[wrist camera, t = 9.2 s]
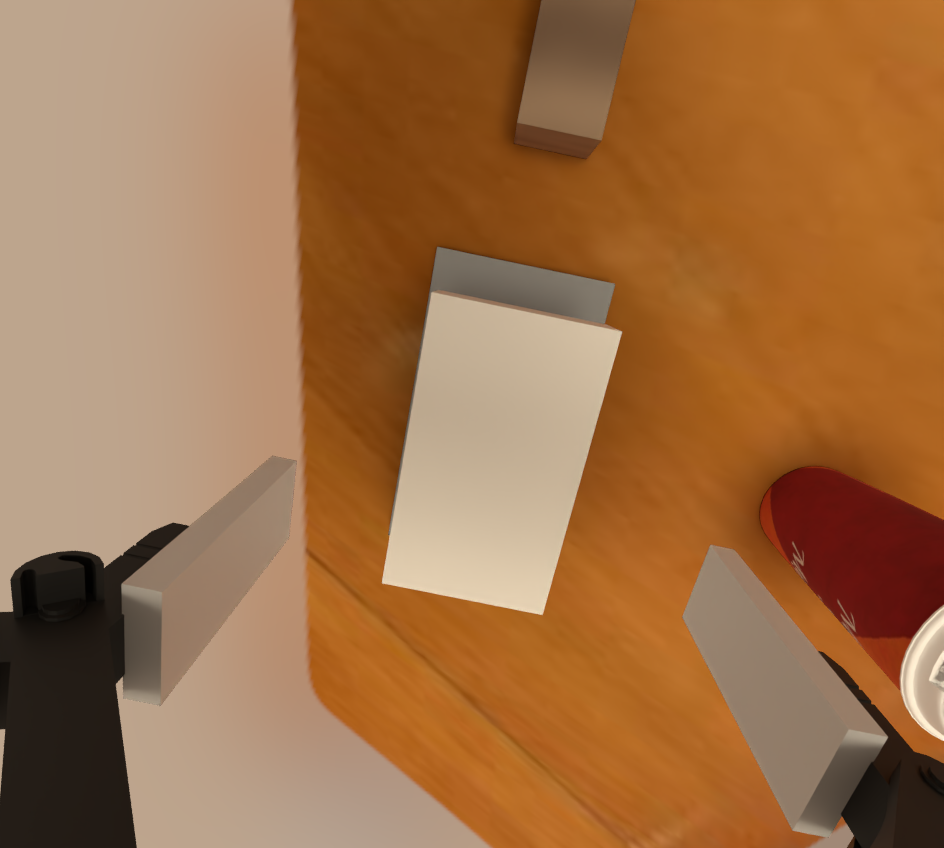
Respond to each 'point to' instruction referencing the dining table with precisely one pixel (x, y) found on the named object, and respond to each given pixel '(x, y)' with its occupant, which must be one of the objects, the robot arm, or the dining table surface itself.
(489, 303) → the shelf board
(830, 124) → the dining table surface
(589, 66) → the riser block
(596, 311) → the peg stand
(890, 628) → the coffee cup
